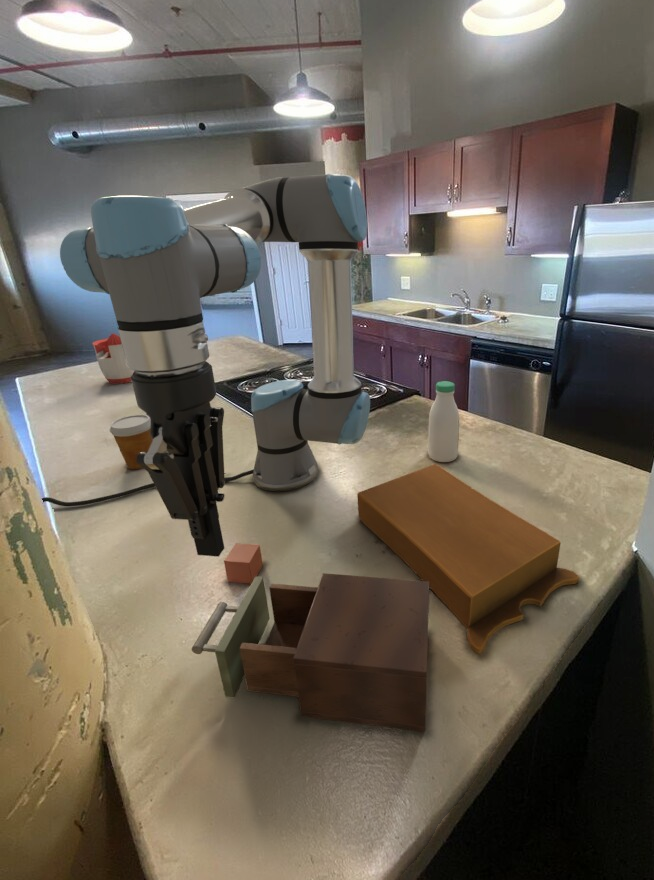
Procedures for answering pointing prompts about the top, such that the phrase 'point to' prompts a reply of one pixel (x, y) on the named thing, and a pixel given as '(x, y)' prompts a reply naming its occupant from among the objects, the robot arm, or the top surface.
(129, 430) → the disposable coffee cup
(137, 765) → the top surface
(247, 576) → the block
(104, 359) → the citrus juicer
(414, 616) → the cabinet
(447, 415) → the milk bottle
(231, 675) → the drawer
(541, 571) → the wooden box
